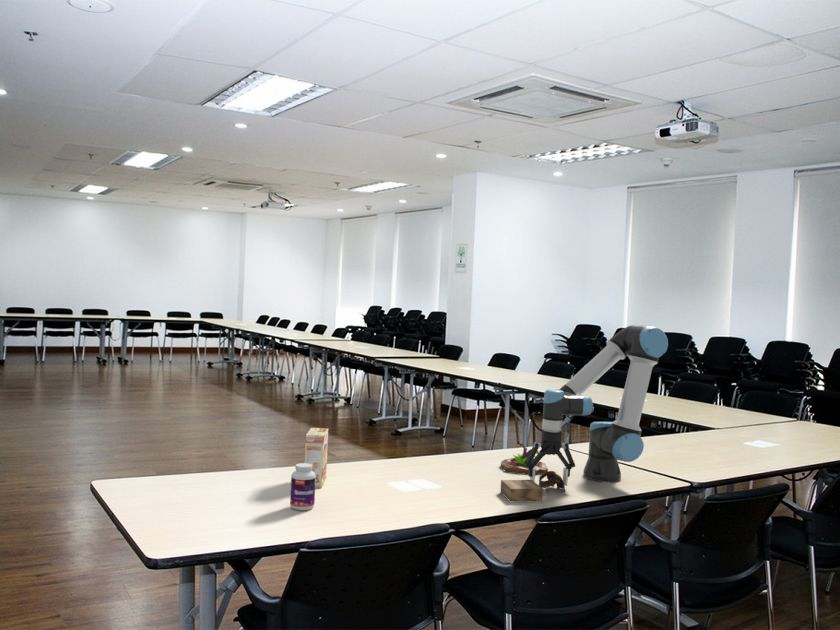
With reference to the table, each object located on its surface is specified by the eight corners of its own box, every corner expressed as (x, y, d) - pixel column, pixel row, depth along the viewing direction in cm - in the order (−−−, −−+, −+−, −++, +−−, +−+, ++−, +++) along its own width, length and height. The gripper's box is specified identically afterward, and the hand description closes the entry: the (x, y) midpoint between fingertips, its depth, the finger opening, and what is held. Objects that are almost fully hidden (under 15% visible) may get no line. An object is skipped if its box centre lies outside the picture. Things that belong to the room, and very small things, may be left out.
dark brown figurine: (568, 495, 270) (560, 477, 268) (545, 504, 272) (536, 486, 270) (564, 479, 281) (556, 462, 279) (542, 488, 283) (533, 470, 281)
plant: (499, 462, 317) (500, 437, 317) (543, 465, 316) (544, 440, 316) (501, 474, 297) (502, 447, 297) (549, 476, 296) (550, 449, 296)
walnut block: (530, 492, 271) (531, 479, 270) (542, 502, 259) (542, 488, 259) (500, 493, 268) (501, 480, 268) (510, 502, 256) (511, 488, 256)
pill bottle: (291, 512, 234) (292, 468, 234) (288, 504, 242) (290, 462, 242) (316, 511, 237) (317, 467, 236) (312, 503, 244) (314, 461, 244)
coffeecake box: (322, 488, 264) (324, 435, 263) (302, 487, 264) (304, 434, 263) (327, 477, 279) (329, 427, 278) (308, 477, 278) (310, 427, 278)
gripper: (577, 428, 282) (574, 482, 282) (517, 427, 276) (514, 482, 276) (586, 432, 274) (582, 487, 275) (525, 431, 268) (521, 488, 269)
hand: (548, 485), depth 276 cm, fingers open, 13 cm apart
